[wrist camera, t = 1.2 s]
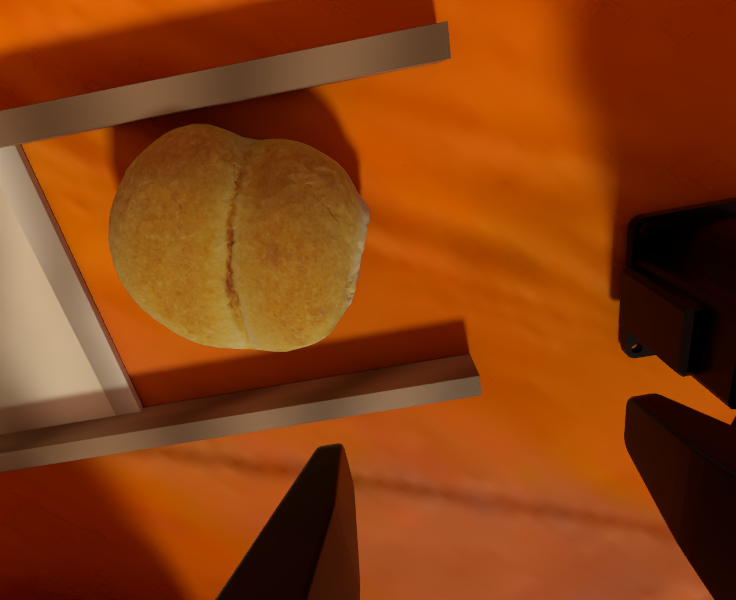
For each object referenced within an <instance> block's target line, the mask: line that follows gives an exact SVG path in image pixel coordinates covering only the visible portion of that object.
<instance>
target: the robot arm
mask: <svg viewBox="0 0 736 600" xmlns="http://www.w3.org/2000/svg"><path fill="white" fill-rule="evenodd" d="M645 223H647V227H646V229H645V230H644V231H643V232H641V233H640V228H641V226H642V225H643V224H645ZM619 323H620V325H621V326H622V335H621V349H622V350H623V352H624V353H625V354H626V355H628V356H629V357H631V358H639V357H645V356H652V355H656V356H658V357H659V358H660V359H661V360H662V361H663V362H665V363H666V364H667V365H668V366H669V367H670V368H672V369H673V370H674V371H675V372H676V373H678V374H679V375H681V376H683V377H684V376H692V377H693V378H694V379H696V380H697V381H698V382H699V383H701V384H702V385H703V386H704V387H705V388H707V389H708V390H709V391H710V392H711V393H713V394H714V395H715V396H716V397H717V398H719V399H720V400H721V401H722V402H723V403H725V404H726V405H727V406H728V407H730V408H731V409H736V198H732V199H726V200H720V201H715V202H709V203H703V204H698V205H692V206H686V207H681V208H675V209H669V210H663V211H658V212H652V213H646V214H641V215H638V216H636V217H635V218H633V219H632V220H631V222H630V223H629V226H628V235H627V252H626V268H625V269H624V270H623V272H622V280H621V298H620V316H619ZM637 343H638V344H637ZM635 344H637V346H636V347H635V348H633V349H631V348H632V346H633V345H635ZM624 440H625V445H626V448H627V451H628V453H629V455H630V457H631V458H632V460H633V462H634V464H635V466H636V468H637V470H638V472H639V473H640V475H641V477H642V479H643V481H644V483H645V485H646V487H647V488H648V490H649V492H650V494H651V496H652V498H653V500H654V502H655V503H656V505H657V507H658V509H659V511H660V513H661V515H662V517H663V518H664V520H665V522H666V524H667V526H668V528H669V530H670V531H671V533H672V535H673V537H674V538H675V540H676V542H677V544H678V545H679V547H680V548H681V550H682V552H683V553H684V555H685V556H686V558H687V559H688V561H689V562H690V564H691V565H692V567H693V568H694V570H695V571H696V573H697V574H698V576H699V577H700V579H701V580H702V582H703V583H704V585H705V586H706V588H707V589H708V591H709V592H710V594H711V595H712V597H713V598H714V600H736V416H735V418H734V420H733V421H732V423H731V425H729V424H727V423H724V422H722V421H720V420H717V419H715V418H713V417H710V416H708V415H706V414H704V413H701V412H699V411H697V410H694V409H692V408H690V407H687V406H685V405H683V404H680V403H678V402H676V401H673V400H671V399H669V398H666V397H664V396H662V395H659V394H646V395H640V396H633V397H631V398H629V399H628V401H627V404H626V416H625V431H624ZM215 600H360V574H359V557H358V541H357V525H356V509H355V494H354V485H353V480H352V476H351V472H350V468H349V464H348V460H347V457H346V453H345V449H344V447H343V445H342V444H339V443H338V444H332V445H325V446H320V447H318V448H317V449H316V450H315V452H314V453H313V455H312V456H311V458H310V459H309V461H308V462H307V464H306V465H305V467H304V468H303V470H302V471H301V473H300V474H299V476H298V477H297V479H296V480H295V482H294V483H293V485H292V486H291V488H290V489H289V491H288V492H287V494H286V495H285V497H284V498H283V500H282V501H281V503H280V504H279V506H278V507H277V508H276V510H275V511H274V513H273V514H272V516H271V517H270V519H269V520H268V522H267V523H266V525H265V526H264V528H263V529H262V531H261V532H260V534H259V535H258V537H257V538H256V540H255V541H254V543H253V544H252V546H251V547H250V549H249V550H248V552H247V553H246V555H245V556H244V558H243V559H242V561H241V562H240V564H239V565H238V567H237V568H236V570H235V571H234V573H233V574H232V576H231V577H230V579H229V580H228V582H227V583H226V585H225V586H224V588H223V589H222V591H221V592H220V594H219V595H218V597H217V598H216V599H215Z"/></svg>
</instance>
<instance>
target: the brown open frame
mask: <svg viewBox="0 0 736 600" xmlns="http://www.w3.org/2000/svg"><path fill="white" fill-rule="evenodd" d="M449 58H451V55H450V43H449V32H448V21H446V22H441V23H436V24H431V25H426V26H421V27H416V28H411V29H406V30H401V31H396V32H391V33H386V34H381V35H376V36H371V37H366V38H361V39H356V40H352V41H347V42H342V43H337V44H332V45H327V46H322V47H317V48H312V49H307V50H302V51H297V52H292V53H287V54H282V55H277V56H272V57H267V58H262V59H257V60H252V61H247V62H242V63H237V64H232V65H227V66H222V67H217V68H212V69H207V70H202V71H197V72H192V73H187V74H182V75H177V76H172V77H167V78H162V79H157V80H152V81H147V82H142V83H137V84H132V85H127V86H122V87H117V88H112V89H107V90H102V91H97V92H92V93H87V94H82V95H77V96H72V97H67V98H62V99H57V100H52V101H47V102H42V103H37V104H32V105H27V106H23V107H18V108H13V109H8V110H3V111H0V472H5V471H11V470H18V469H24V468H30V467H36V466H42V465H49V464H55V463H61V462H67V461H74V460H80V459H86V458H92V457H99V456H105V455H111V454H117V453H124V452H130V451H136V450H142V449H149V448H155V447H161V446H167V445H174V444H180V443H186V442H192V441H199V440H205V439H211V438H217V437H224V436H230V435H236V434H242V433H249V432H255V431H261V430H267V429H274V428H280V427H286V426H292V425H298V424H305V423H311V422H317V421H323V420H330V419H336V418H342V417H348V416H355V415H361V414H367V413H373V412H380V411H386V410H392V409H398V408H405V407H411V406H417V405H423V404H430V403H436V402H442V401H448V400H455V399H461V398H467V397H473V396H480V395H481V386H480V376H479V374H478V371H477V369H476V367H475V365H474V362H473V360H472V358H471V356H470V354H465V355H459V356H453V357H447V358H441V359H435V360H429V361H423V362H417V363H411V364H405V365H399V366H393V367H387V368H380V369H374V370H368V371H362V372H356V373H350V374H344V375H338V376H332V377H326V378H320V379H314V380H308V381H302V382H295V383H289V384H283V385H277V386H271V387H265V388H259V389H253V390H247V391H241V392H235V393H229V394H223V395H217V396H211V397H204V398H198V399H192V400H186V401H180V402H174V403H168V404H162V405H156V406H150V407H144V408H143V406H142V404H141V401H140V399H139V397H138V395H137V393H136V391H135V389H134V387H133V384H132V382H131V380H130V378H129V376H128V374H127V372H126V369H125V367H124V365H123V363H122V361H121V359H120V357H119V354H118V352H117V350H116V348H115V346H114V344H113V342H112V339H111V337H110V335H109V333H108V331H107V329H106V327H105V324H104V322H103V320H102V318H101V316H100V314H99V312H98V310H97V307H96V305H95V303H94V301H93V299H92V297H91V295H90V292H89V290H88V288H87V286H86V284H85V282H84V280H83V277H82V275H81V273H80V271H79V269H78V267H77V265H76V262H75V260H74V258H73V256H72V254H71V252H70V250H69V247H68V245H67V243H66V241H65V239H64V237H63V235H62V233H61V230H60V228H59V226H58V224H57V222H56V220H55V218H54V215H53V213H52V211H51V209H50V207H49V205H48V203H47V200H46V198H45V196H44V194H43V192H42V190H41V188H40V185H39V183H38V181H37V179H36V177H35V175H34V173H33V171H32V168H31V166H30V164H29V162H28V160H27V158H26V156H25V153H24V151H23V149H22V147H21V145H20V144H26V143H31V142H36V141H41V140H46V139H51V138H56V137H61V136H66V135H71V134H76V133H82V132H87V131H92V130H97V129H102V128H107V127H112V126H117V125H122V124H127V123H132V122H138V121H143V120H148V119H153V118H158V117H163V116H168V115H173V114H178V113H183V112H188V111H194V110H199V109H204V108H209V107H214V106H219V105H224V104H229V103H234V102H239V101H244V100H250V99H255V98H260V97H265V96H270V95H275V94H280V93H285V92H290V91H295V90H300V89H306V88H311V87H316V86H321V85H326V84H331V83H336V82H341V81H346V80H351V79H356V78H362V77H367V76H372V75H377V74H382V73H387V72H392V71H397V70H402V69H407V68H412V67H418V66H423V65H428V64H433V63H438V62H442V61H444V60H447V59H449Z"/></svg>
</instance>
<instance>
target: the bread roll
mask: <svg viewBox="0 0 736 600" xmlns="http://www.w3.org/2000/svg"><path fill="white" fill-rule="evenodd" d="M369 219H370V210H369V207H368V206H367V204H366V203H365V202H364V200H363V199H362V198H361V196H360V195H359V194H358V192H357V190H356V187H355V185H354V184H353V182H352V180H351V179H350V177H349V175H348V174H347V172H346V171H345V170H344V169H343V167H342V166H341V165H340V164H339V163H338V162H336V161H335V160H333V159H332V158H330V157H329V156H327V155H325V154H324V153H322V152H320V151H318V150H317V149H315V148H313V147H311V146H309V145H307V144H304V143H302V142H298V141H293V140H288V139H265V140H257V139H251V138H245V137H242V136H239V135H237V134H235V133H233V132H231V131H229V130H226V129H223V128H220V127H217V126H214V125H210V124H190V125H186V126H183V127H179V128H176V129H173V130H171V131H169V132H167V133H165V134H164V135H162V136H161V137H160V138H158V139H157V140H155V141H154V142H153V143H152V144H151V145H149V146H148V147H147V148H146V149H145V150H144V151H143V152H142V153H140V154H139V155H138V156H137V157H136V158H135V159H134V161H133V162H132V163H131V164H130V165H129V167H128V168H127V169H126V172H125V174H124V177H123V178H122V180H121V183H120V185H119V188H118V190H117V193H116V195H115V198H114V201H113V204H112V207H111V212H110V219H109V248H110V252H111V255H112V259H113V263H114V266H115V268H116V271H117V274H118V276H119V278H120V280H121V282H122V284H123V286H124V287H125V288H126V290H127V291H128V293H129V294H130V295H131V297H132V298H133V299H134V300H135V301H136V302H137V304H138V305H139V306H140V307H141V308H142V309H143V310H145V311H146V312H147V313H148V314H149V315H150V316H152V317H153V318H154V319H156V320H157V321H158V322H160V323H161V324H162V325H164V326H165V327H167V328H168V329H170V330H171V331H173V332H175V333H176V334H178V335H180V336H182V337H184V338H186V339H188V340H190V341H193V342H196V343H199V344H202V345H206V346H213V347H217V348H234V349H255V350H265V351H273V352H287V351H290V350H294V349H299V348H303V347H306V346H310V345H312V344H315V343H317V342H319V341H320V340H322V339H323V338H325V337H326V336H328V335H329V334H330V333H331V332H332V331H333V330H334V328H335V326H336V324H337V323H338V321H339V320H340V318H341V317H342V315H343V314H344V312H345V310H346V309H347V307H348V306H349V305H350V304H351V303H352V298H353V296H354V292H355V290H356V280H357V278H358V276H359V275H358V270H359V269H360V262H361V254H362V253H363V250H364V243H365V239H366V234H367V227H368V224H369Z"/></svg>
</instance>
